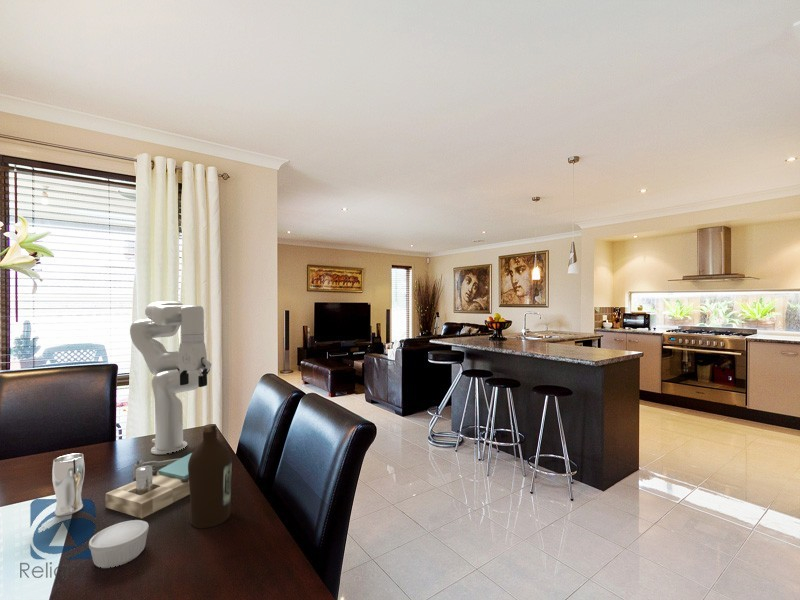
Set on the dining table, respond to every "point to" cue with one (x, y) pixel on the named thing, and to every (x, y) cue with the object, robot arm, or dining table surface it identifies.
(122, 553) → the ramekin
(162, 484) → the wooden block
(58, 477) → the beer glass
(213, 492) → the olive oil
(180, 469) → the latch flap
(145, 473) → the steel peg
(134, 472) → the caliper
